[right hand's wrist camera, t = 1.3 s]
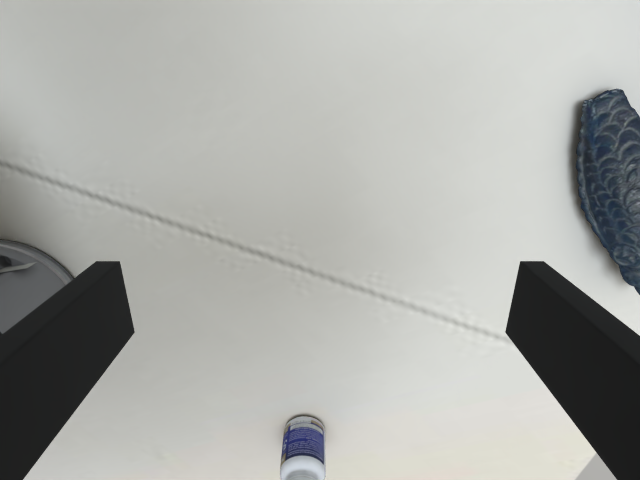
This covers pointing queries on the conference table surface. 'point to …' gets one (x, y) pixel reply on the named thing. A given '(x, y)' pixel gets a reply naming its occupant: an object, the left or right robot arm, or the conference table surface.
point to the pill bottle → (303, 450)
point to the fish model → (612, 177)
